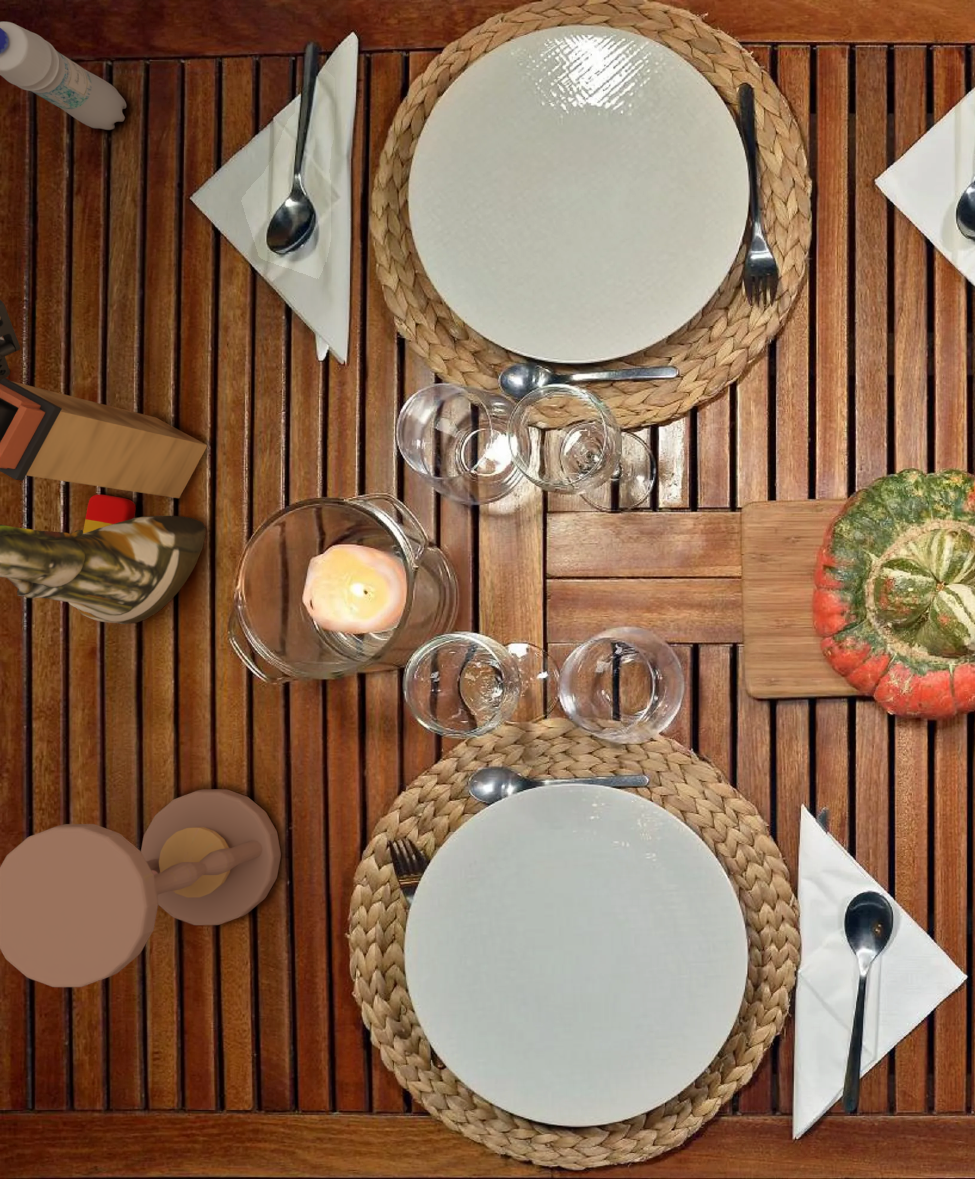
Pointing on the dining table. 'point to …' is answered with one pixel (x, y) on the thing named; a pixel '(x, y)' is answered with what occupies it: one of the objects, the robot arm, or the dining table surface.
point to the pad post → (6, 417)
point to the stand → (114, 448)
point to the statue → (105, 565)
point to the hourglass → (131, 885)
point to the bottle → (57, 78)
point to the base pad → (24, 428)
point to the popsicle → (107, 511)
